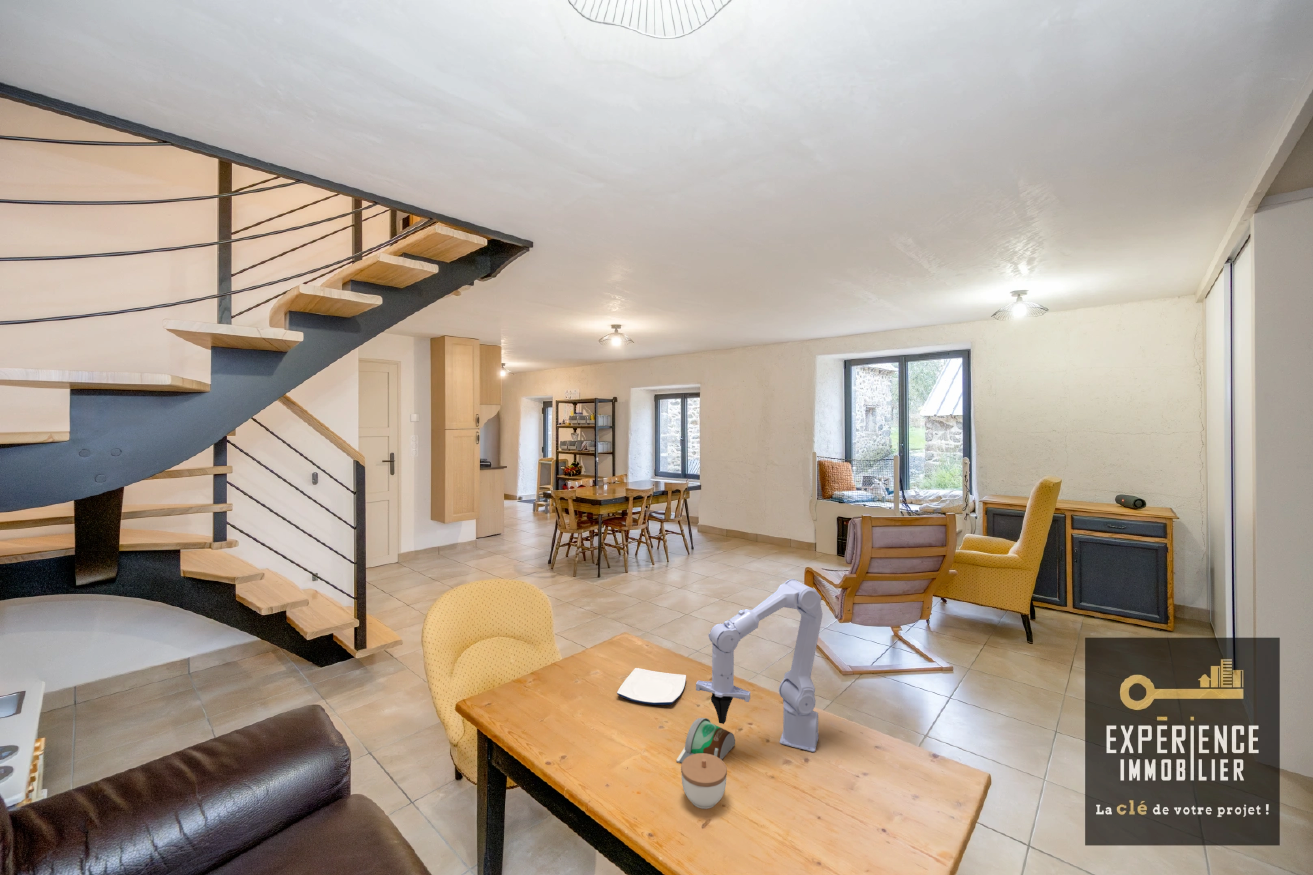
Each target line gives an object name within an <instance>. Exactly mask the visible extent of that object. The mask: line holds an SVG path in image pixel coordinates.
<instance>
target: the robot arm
mask: <svg viewBox="0 0 1313 875" xmlns="http://www.w3.org/2000/svg"><path fill="white" fill-rule="evenodd" d="M821 603H822V596H821V595H820V594H819V592H818V591H817V590H816V589H815V588H813V587H810V586H808V585H807V584H804V583H803V582H800V581H799V580H798V579H795V578H790V579H788V580H785V581H784V583H781V584H780V585H778V588H777V590H776V591H775V592H773V593H772V594H771V595H769V596H768V597H767V598H765V599H764V600H763V601H761V602H760V603H759V604H758V605H756V606H755V607H754V608H751V609H747V608H745V609H740V610H738V611H737V612H738V613H737V614H735V615H733V617H730V618H729V619H727V620H725V621H724V622H723V623H717V624H715V625H714V626H712V628H711V630H710V632H709V633H708V634H707V635H708V639H709V641H710V642H711V643H712V649H711V652H712V653H711V654H712V656H711V665H712V666H711V681H710V680H708V681H706V680H704V681H703V680H697V681H696V683H695V691H697V692H701V691H702V692H708V693H711V697H710V702H711V703H712V704H713V707H714V709H715V712H716V715H717V718H718V719H717V720H718V723H719V724H722V725H724V724H725V723H726V722H727V716H728V712H729V708H730V706H731V704H732V701H733V699H738V700H742V701H743V700H744V702H745V703H749V702H750V700H751V691H749V690H746V689H743V688H741V687H739V686H736V685H734V684H735V682H734V680H735V679H734V676H735V675H734V673H735V672H734V671H735V670H734V669H735V668H734V666H735V665H734V663H735V662H734V661H735V660H734V659H735V653H734V652H735V650H736V649H737V647H738V644H739V642H741V640H742V639H744V638H745V637H747V636H748V635H749V634H751V633H752V632H754V631H755V630H757V629H758V627H759V623H760V621H762V620H764V619H765V618H767V617H769V616H771V615H773V614H774V613H776V612H777V611H779V610H781V609H783V608H787V609H792V610H797V611H798V613H799V614H800V620H799V626H798V631H797V636H796V641H795V647H794V652H793V656H792V661H791V667H790V669H789V670H787V672H785V673H784V676H783V679H782V681H781V682H780V684H779V686H778V692H779V696H780V698H782V703H783V707H782V708H783V718H782V719H783V720H782V721H783V722H782V724H783V725H782V733H781V736H780V740H779V744H781V745H784V746H788V747H792V748H796V749H800V750H805V751H807V752H812V753H815V752H816V749H817V744H818V741H819V738H820V737H819V713H818V712H817V711H815V710H814V709H815V707H816V703H817V702H816V697H815V694H816V693H815V692H816V688H815V684H814V682H813V680H812V678H811V677H812V672H813V667H814V666H813V665H814V663H815V662H814V661H815V655H816V651H817V646H818V645H817V644H818V640H819V636H820V629H821V625H822V619H823V609H822V604H821Z"/></svg>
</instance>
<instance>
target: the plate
mask: <svg viewBox="0 0 1313 875" xmlns="http://www.w3.org/2000/svg"><path fill="white" fill-rule="evenodd" d="M686 680H687V675H686V674H679V673H670V672H669V673H668V672H661V671H654V670H649V669H644V668H640V667H635V668H634V669H633V670H632V671H631V673H630V674H629V675H628V676H627V677H626V678H625V679H624V681H623V682H622V684H621V685H620V687H619V688H618V690H617V692H616V695H618V696H619V697H621V698H624V699H626V700H629V701H631V702H635V703H640V704H645V705H646V704H648V705H655V706H657V705H658V706H659V705H661V706H665V705H666V706H667V705H668V706H669V705H673V703H674V702H676V701H677V700H678V699H679V698H680V697H681V695H682V693H683V692H684V689H685V687H686V686H685V685H686Z"/></svg>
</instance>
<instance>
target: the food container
mask: <svg viewBox="0 0 1313 875" xmlns="http://www.w3.org/2000/svg"><path fill="white" fill-rule="evenodd" d="M735 745H736V738H735V734H734V733H733V732H731V731H729V730H727V729H725V728H722V727H720V726H718V725H716V724H714V723H712V722H711V721H710V719H709V718H707V717H698V718H696V719H695V720H694V721H693V722H692V724H691V725H690V727H689V729H688V732H687V735H686V738H685V743H684V747H685V750H686V752H688V753H690V754H691V753H694V754H698V753H706V754H711V755H714V756H716V757H718V758H720V759H721V760H722V761H723V759H724V757H726V755H727V754H728V753H729V752H730V751H731V750H732V749H733V748H734V747H735Z"/></svg>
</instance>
